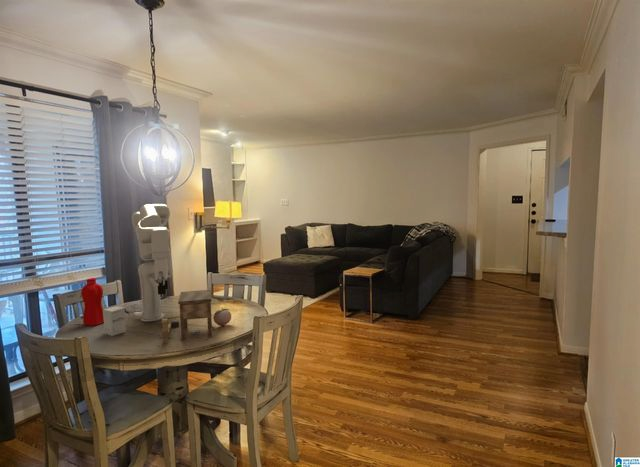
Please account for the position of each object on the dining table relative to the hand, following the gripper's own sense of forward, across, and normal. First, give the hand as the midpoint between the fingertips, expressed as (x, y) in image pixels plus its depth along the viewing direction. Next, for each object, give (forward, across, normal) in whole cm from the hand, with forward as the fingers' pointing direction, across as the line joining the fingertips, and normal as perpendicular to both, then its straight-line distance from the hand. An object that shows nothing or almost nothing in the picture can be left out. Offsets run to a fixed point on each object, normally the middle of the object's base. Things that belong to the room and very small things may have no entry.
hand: (163, 291), depth 184 cm
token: (+25, -8, +13) cm, 29 cm away
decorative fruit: (+24, -13, +27) cm, 39 cm away
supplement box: (+24, -21, -26) cm, 41 cm away
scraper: (+24, -10, 0) cm, 26 cm away
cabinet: (+24, -8, +14) cm, 29 cm away
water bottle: (+24, -41, -41) cm, 63 cm away
